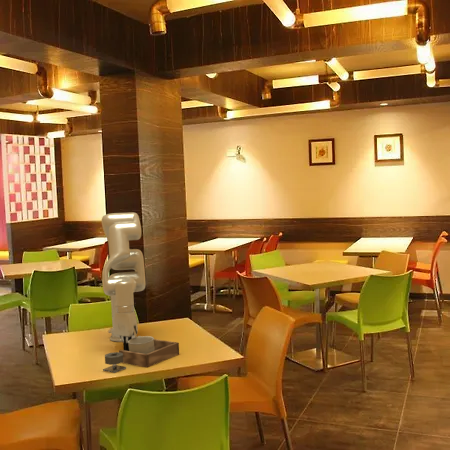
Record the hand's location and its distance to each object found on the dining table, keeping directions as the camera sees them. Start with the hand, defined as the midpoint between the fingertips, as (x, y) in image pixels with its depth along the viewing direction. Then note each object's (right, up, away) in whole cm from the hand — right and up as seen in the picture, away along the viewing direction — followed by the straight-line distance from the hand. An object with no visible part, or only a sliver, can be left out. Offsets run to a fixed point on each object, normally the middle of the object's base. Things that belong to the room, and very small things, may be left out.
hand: (127, 350), depth 254 cm
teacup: (+7, -2, -4) cm, 8 cm away
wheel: (-2, 0, -21) cm, 21 cm away
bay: (+10, -2, -7) cm, 12 cm away
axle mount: (-2, -3, -20) cm, 21 cm away
